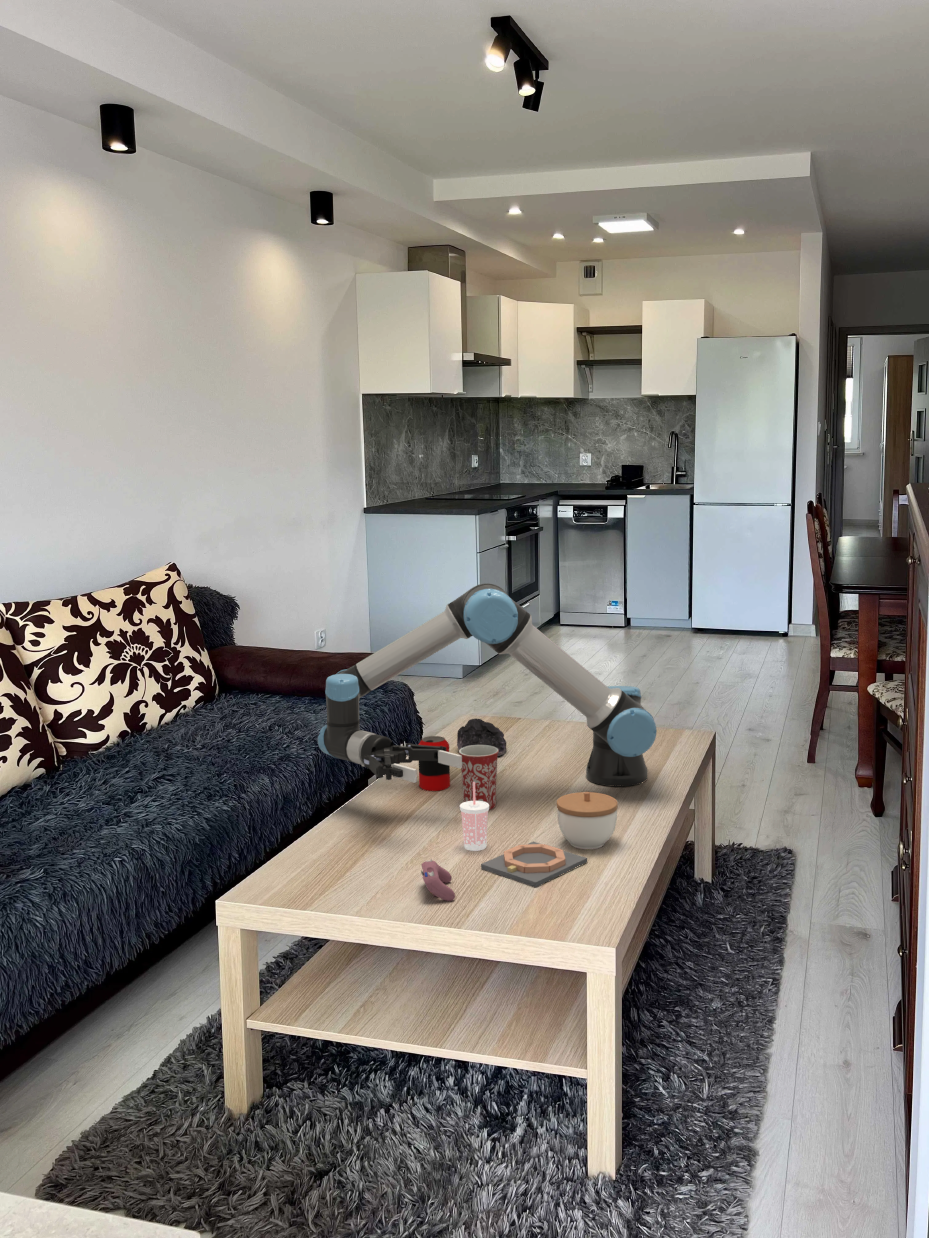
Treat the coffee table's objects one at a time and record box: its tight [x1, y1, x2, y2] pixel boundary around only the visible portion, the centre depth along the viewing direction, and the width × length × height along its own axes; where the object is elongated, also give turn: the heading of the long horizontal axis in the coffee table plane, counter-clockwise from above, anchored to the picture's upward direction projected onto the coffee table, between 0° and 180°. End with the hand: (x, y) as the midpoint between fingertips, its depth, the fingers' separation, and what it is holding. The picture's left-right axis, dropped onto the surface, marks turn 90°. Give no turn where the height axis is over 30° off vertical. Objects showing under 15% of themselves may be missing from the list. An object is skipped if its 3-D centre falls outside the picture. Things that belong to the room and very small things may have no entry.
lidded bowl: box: [556, 791, 619, 850], centre depth 226 cm, size 13×13×11 cm
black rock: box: [456, 717, 507, 757], centre depth 294 cm, size 13×14×10 cm
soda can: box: [417, 735, 451, 792], centre depth 266 cm, size 8×8×12 cm
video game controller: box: [420, 858, 456, 902], centre depth 203 cm, size 10×5×7 cm, turn 5°
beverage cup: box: [459, 782, 490, 852], centre depth 225 cm, size 6×6×14 cm
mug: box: [458, 745, 499, 811], centre depth 252 cm, size 13×9×14 cm
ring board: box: [480, 841, 588, 888], centre depth 215 cm, size 16×14×2 cm
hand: (438, 768), depth 230 cm, fingers open, 13 cm apart
